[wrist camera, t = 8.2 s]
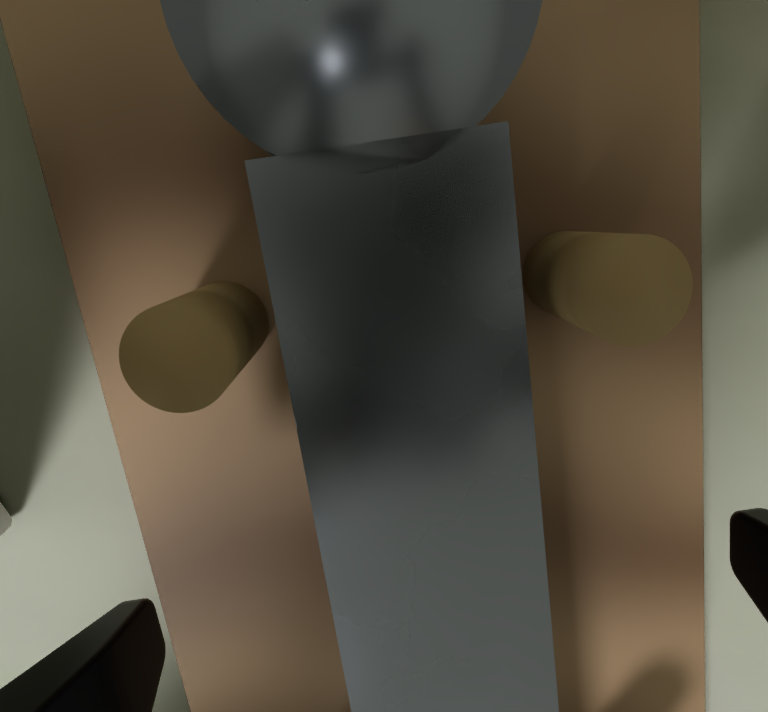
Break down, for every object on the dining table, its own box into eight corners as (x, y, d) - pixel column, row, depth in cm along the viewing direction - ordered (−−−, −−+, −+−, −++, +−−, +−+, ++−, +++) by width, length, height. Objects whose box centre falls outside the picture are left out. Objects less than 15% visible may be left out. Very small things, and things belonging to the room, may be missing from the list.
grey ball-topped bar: (564, 844, 14) (616, 1004, 11) (378, 872, 14) (382, 1039, 11) (477, -137, 9) (529, -301, 6) (189, -93, 9) (108, -239, 6)
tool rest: (677, 886, 17) (787, 1121, 12) (281, 943, 17) (251, 1198, 12) (652, -121, 11) (853, -361, 6) (29, -29, 11) (-205, -204, 6)
